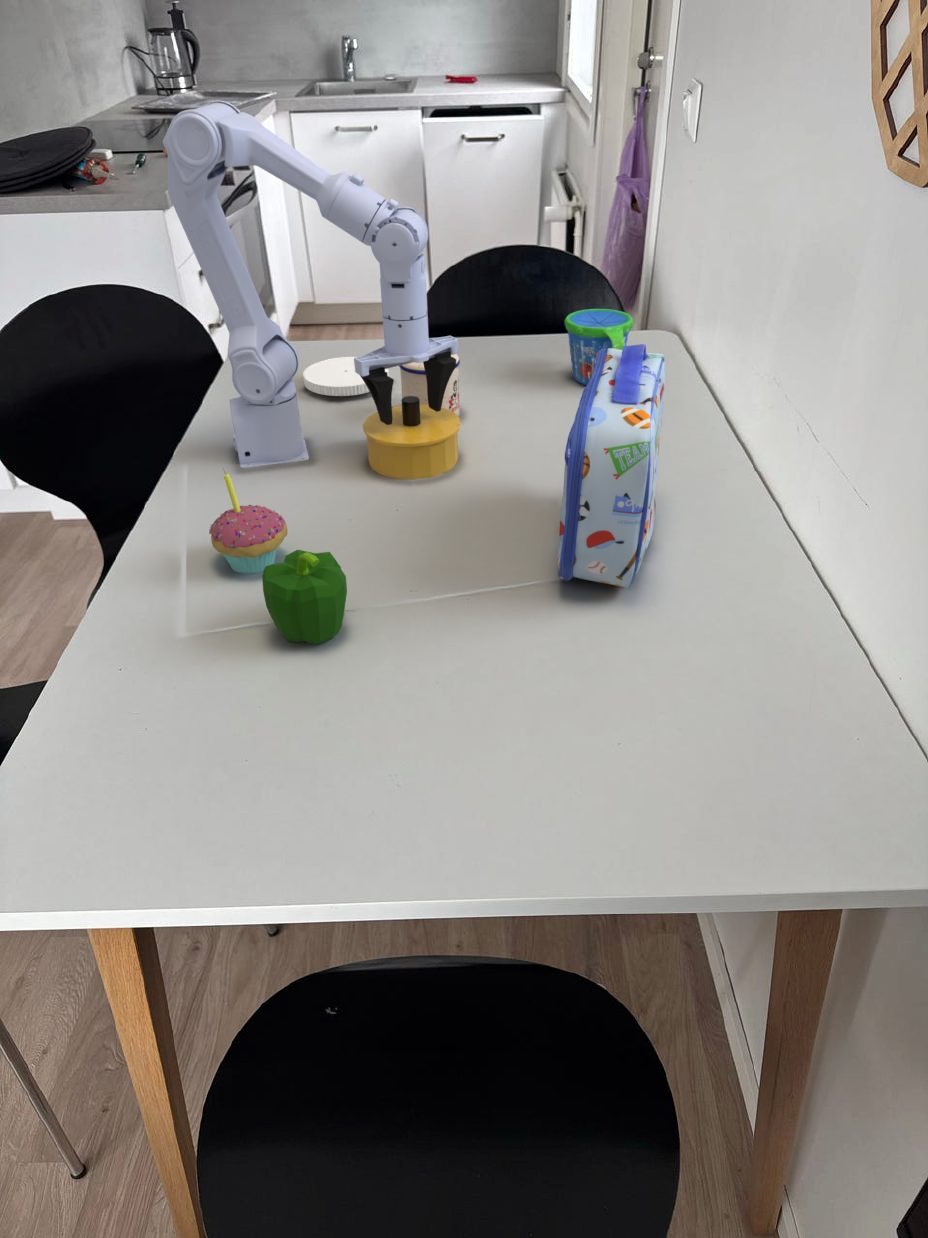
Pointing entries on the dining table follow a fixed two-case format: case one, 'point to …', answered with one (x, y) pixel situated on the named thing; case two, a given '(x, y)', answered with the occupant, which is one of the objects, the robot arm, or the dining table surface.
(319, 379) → the plastic lid
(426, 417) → the tin lid
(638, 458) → the lunch box
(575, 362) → the snack cup
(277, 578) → the bell pepper
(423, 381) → the teacup with lid
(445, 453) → the tin
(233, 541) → the cupcake
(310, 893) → the dining table surface
